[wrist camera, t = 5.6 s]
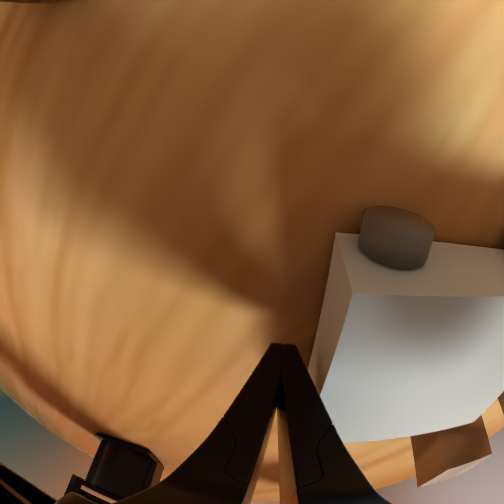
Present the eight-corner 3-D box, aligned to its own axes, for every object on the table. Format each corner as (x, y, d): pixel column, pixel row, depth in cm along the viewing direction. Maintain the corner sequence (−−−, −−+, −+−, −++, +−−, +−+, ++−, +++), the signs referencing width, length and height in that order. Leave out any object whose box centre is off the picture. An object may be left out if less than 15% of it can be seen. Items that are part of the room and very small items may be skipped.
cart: (299, 397, 13) (297, 449, 10) (339, 201, 8) (361, 255, 5) (451, 388, 12) (464, 430, 9) (538, 232, 7) (579, 272, 4)
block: (410, 436, 15) (417, 487, 11) (435, 411, 13) (447, 469, 9) (450, 429, 15) (460, 474, 11) (477, 402, 13) (491, 453, 9)
